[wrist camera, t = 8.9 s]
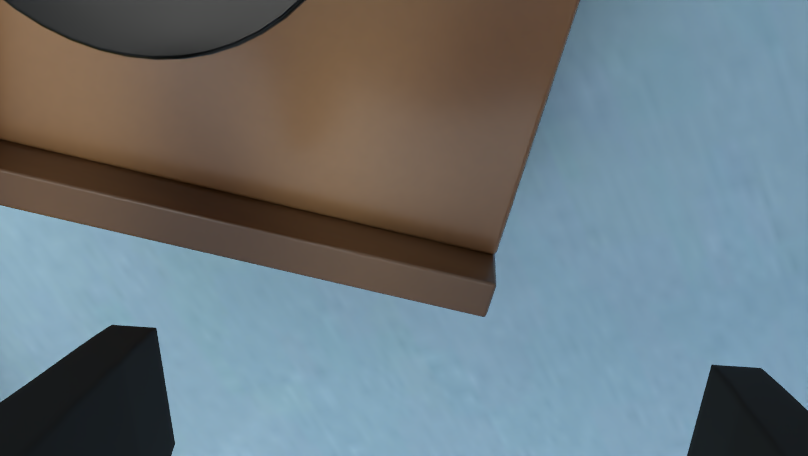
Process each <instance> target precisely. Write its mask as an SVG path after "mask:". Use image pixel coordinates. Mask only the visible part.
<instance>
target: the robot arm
mask: <svg viewBox="0 0 808 456" xmlns="http://www.w3.org/2000/svg"><path fill="white" fill-rule="evenodd" d="M174 445H175V441H174V435H173V428H172V422H171V416H170V410H169V404H168V398H167V392H166V385H165V379H164V373H163V367H162V361H161V355H160V348H159V342H158V336H157V330H156V328H150V327H135V326H120V325H111V326H109V327H108V328H106V329H105V330H103V331H101V332H100V333H98V334H97V335H95V336H94V337H92V338H91V339H89V340H88V341H87V342H85V343H84V344H82V345H81V346H79V347H78V348H77V349H75V350H74V351H72V352H71V353H70V354H68V355H67V356H65V357H64V358H63V359H61V360H60V361H58V362H57V363H56V364H54V365H53V366H51V367H50V368H49V369H47V370H46V371H44V372H43V373H42V374H40V375H39V376H37V377H36V378H35V379H33V380H32V381H30V382H29V383H28V384H26V385H25V386H23V387H22V388H20V389H19V390H18V391H16V392H15V393H13V394H12V395H10V396H9V397H8V398H6V399H5V400H3V401H2V402H0V456H171V454H172V451H173V448H174ZM687 456H808V410H806V409H805V408H804V407H803V406H802V405H801V404H800V403H799V402H798V401H797V400H796V399H795V398H794V397H793V396H792V395H790V394H789V393H788V392H787V391H786V390H785V389H784V388H783V387H782V386H781V385H780V384H779V383H777V382H776V381H775V380H774V379H773V378H772V377H771V376H770V375H768V374H767V373H766V372H765V371H764V370H763V369H761V368H751V367H736V366H721V365H711V369H710V373H709V377H708V380H707V384H706V388H705V391H704V395H703V399H702V403H701V406H700V410H699V414H698V417H697V421H696V425H695V429H694V432H693V436H692V440H691V443H690V447H689V451H688V454H687Z"/></svg>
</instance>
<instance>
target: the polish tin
mask: <svg viewBox="0 0 808 456" xmlns="http://www.w3.org/2000/svg"><path fill="white" fill-rule="evenodd" d="M4 1H5V2H6V3H8V4H9V5H10V6H11V7H13V8H14V9H15V10H17V11H18V12H20V13H22V14H23V15H25V16H26V17H28V18H29V19H31V20H33V21H34V22H36V23H37V24H39V25H41V26H42V27H44V28H46V29H48V30H50V31H52V32H54V33H56V34H58V35H60V36H63V37H65V38H67V39H69V40H71V41H74V42H77V43H79V44H82V45H85V46H88V47H91V48H93V49H96V50H99V51H103V52H108V53H112V54H116V55H121V56H125V57H131V58H141V59H151V60H175V59H189V58H195V57H201V56H207V55H212V54H215V53H219V52H222V51H225V50H228V49H231V48H234V47H237V46H240V45H242V44H244V43H246V42H248V41H250V40H252V39H254V38H256V37H258V36H260V35H262V34H264V33H266V32H267V31H269V30H270V29H272V28H273V27H274V26H276V25H277V24H279V23H280V22H282V21H283V20H285V19H286V18H287V17H289V16H290V15H291V14H292V13H293V12H294V11H295V10H296V9H297V8H298V7H300V6H301V5H302V4H303V3H304V2H305V1H306V0H4Z"/></svg>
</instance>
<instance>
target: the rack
mask: <svg viewBox="0 0 808 456" xmlns="http://www.w3.org/2000/svg"><path fill="white" fill-rule="evenodd" d="M579 2H580V0H306V1H305V2H304V3H303V4H302V5H301V6H300V7H298V8H297V9H296V10H295V11H294V12H293V13H292V14H291V15H290V16H289V17H287V18H286V19H285V20H283V21H282V22H280V23H279V24H277V25H276V26H274V27H273V28H272V29H270V30H269V31H267V32H266V33H264V34H262V35H260V36H258V37H256V38H254V39H252V40H250V41H248V42H246V43H244V44H242V45H240V46H237V47H234V48H231V49H228V50H225V51H222V52H219V53H215V54H212V55H207V56H201V57H195V58H189V59H175V60H151V59H141V58H131V57H125V56H121V55H116V54H112V53H108V52H103V51H99V50H96V49H93V48H91V47H88V46H85V45H82V44H79V43H77V42H74V41H71V40H69V39H67V38H65V37H63V36H60V35H58V34H56V33H54V32H52V31H50V30H48V29H46V28H44V27H42V26H41V25H39V24H37V23H36V22H34V21H33V20H31V19H29V18H28V17H26V16H25V15H23V14H22V13H20V12H18V11H17V10H15V9H14V8H13V7H11V6H10V5H9V4H8V3H6V2H5V1H4V0H0V205H2V206H6V207H11V208H15V209H19V210H24V211H28V212H32V213H37V214H41V215H45V216H50V217H54V218H58V219H63V220H67V221H71V222H76V223H80V224H84V225H89V226H93V227H97V228H102V229H106V230H110V231H114V232H119V233H123V234H127V235H132V236H136V237H140V238H145V239H149V240H153V241H158V242H162V243H166V244H171V245H175V246H179V247H184V248H188V249H192V250H197V251H201V252H205V253H210V254H214V255H218V256H223V257H227V258H231V259H235V260H240V261H244V262H248V263H253V264H257V265H261V266H266V267H270V268H274V269H279V270H283V271H287V272H292V273H296V274H300V275H305V276H309V277H313V278H318V279H322V280H326V281H331V282H335V283H339V284H344V285H348V286H352V287H356V288H361V289H365V290H369V291H374V292H378V293H382V294H387V295H391V296H395V297H400V298H404V299H408V300H413V301H417V302H421V303H426V304H430V305H434V306H439V307H443V308H447V309H452V310H456V311H460V312H465V313H469V314H473V315H478V316H482V317H485V315H486V314H487V311H488V308H489V306H490V303H491V300H492V297H493V294H494V291H495V288H496V272H495V253H496V252H497V250H498V247H499V243H500V240H501V237H502V234H503V231H504V228H505V225H506V222H507V219H508V216H509V213H510V210H511V207H512V204H513V201H514V198H515V195H516V192H517V189H518V186H519V183H520V180H521V177H522V174H523V171H524V168H525V165H526V162H527V159H528V156H529V153H530V150H531V147H532V144H533V141H534V138H535V135H536V132H537V129H538V126H539V123H540V120H541V117H542V114H543V111H544V108H545V105H546V102H547V99H548V96H549V93H550V90H551V87H552V84H553V81H554V78H555V74H556V71H557V68H558V65H559V62H560V59H561V56H562V53H563V50H564V47H565V44H566V41H567V38H568V35H569V32H570V29H571V26H572V23H573V20H574V17H575V14H576V11H577V8H578V5H579Z"/></svg>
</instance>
